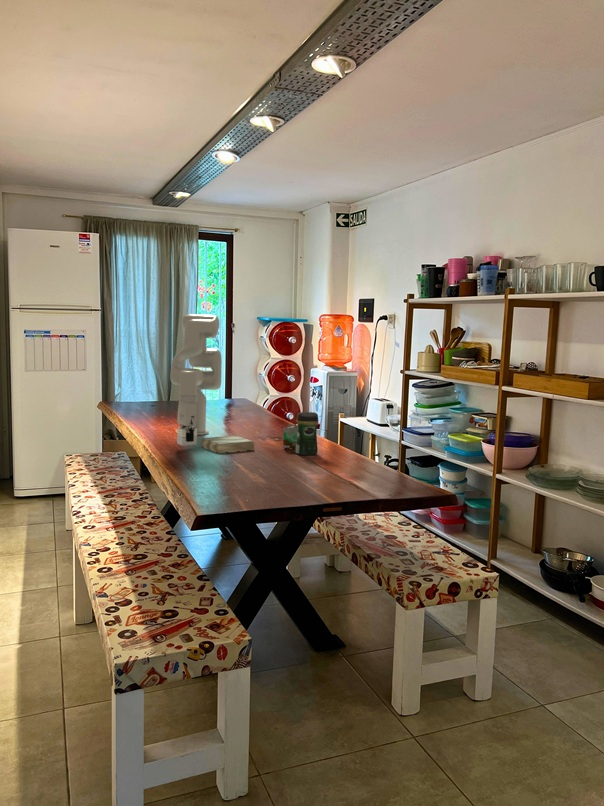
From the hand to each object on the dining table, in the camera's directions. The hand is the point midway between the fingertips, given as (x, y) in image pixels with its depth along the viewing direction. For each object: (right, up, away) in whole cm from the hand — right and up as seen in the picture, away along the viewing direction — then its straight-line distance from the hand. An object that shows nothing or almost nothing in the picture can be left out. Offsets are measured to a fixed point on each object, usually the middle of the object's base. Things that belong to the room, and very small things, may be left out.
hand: (187, 439), depth 286 cm
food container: (+45, -5, +15) cm, 48 cm away
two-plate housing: (0, -2, 0) cm, 2 cm away
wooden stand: (+17, -4, +7) cm, 19 cm away
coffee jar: (+52, -7, +3) cm, 52 cm away
